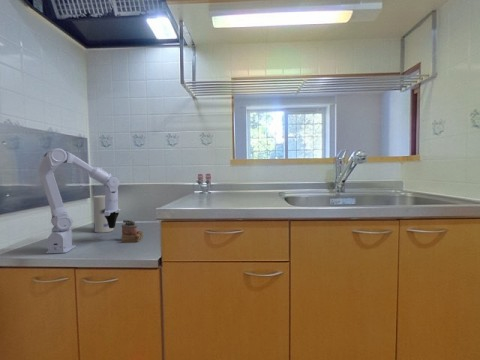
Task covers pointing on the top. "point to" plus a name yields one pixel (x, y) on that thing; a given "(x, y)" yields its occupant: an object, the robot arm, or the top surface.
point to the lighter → (129, 228)
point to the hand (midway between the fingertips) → (111, 227)
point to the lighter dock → (133, 237)
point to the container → (100, 215)
